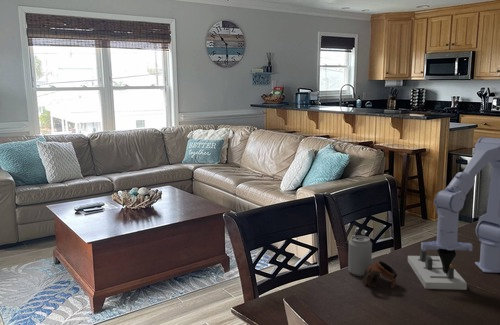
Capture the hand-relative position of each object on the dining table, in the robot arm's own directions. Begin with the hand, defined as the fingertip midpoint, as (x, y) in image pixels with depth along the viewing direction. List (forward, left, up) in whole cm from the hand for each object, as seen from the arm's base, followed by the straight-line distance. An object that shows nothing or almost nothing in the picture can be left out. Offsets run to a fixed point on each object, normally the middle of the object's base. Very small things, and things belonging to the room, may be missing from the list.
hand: (445, 272), depth 137 cm
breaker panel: (+1, -7, -4) cm, 8 cm away
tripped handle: (-1, 0, -1) cm, 2 cm away
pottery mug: (+21, +3, -4) cm, 21 cm away
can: (+25, -7, -4) cm, 26 cm away
